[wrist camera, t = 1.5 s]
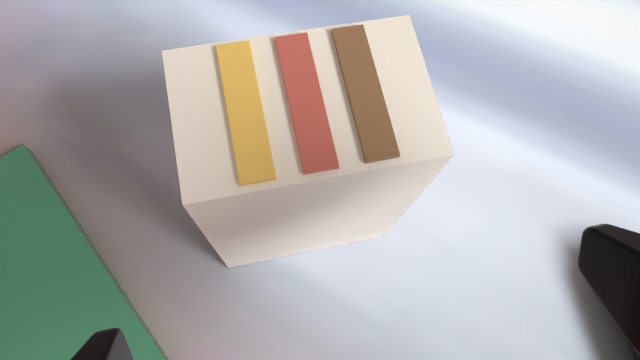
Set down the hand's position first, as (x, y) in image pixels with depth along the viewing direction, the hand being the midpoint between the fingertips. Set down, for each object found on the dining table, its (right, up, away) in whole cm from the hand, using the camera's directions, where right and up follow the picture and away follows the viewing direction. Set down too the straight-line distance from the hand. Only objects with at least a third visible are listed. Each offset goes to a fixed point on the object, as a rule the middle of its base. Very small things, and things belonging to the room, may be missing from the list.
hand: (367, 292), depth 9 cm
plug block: (-2, +1, +13) cm, 13 cm away
